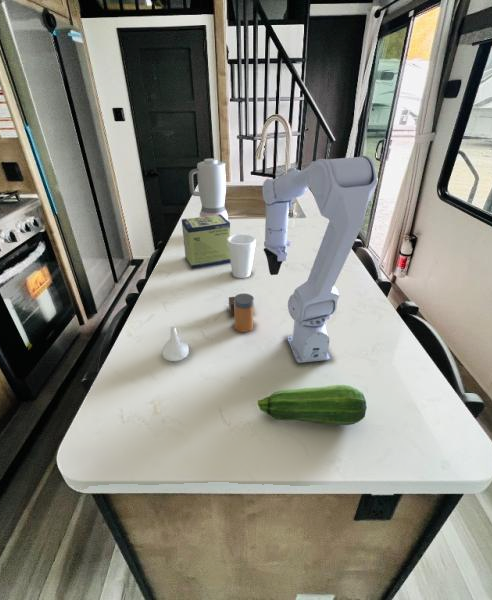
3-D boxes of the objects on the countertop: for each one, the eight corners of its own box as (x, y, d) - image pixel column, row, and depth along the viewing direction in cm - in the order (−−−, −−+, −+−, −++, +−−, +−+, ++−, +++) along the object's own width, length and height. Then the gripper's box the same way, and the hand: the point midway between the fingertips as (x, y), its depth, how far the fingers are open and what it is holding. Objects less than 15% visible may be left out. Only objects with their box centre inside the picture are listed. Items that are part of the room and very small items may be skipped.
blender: (222, 230, 149) (219, 156, 132) (233, 239, 139) (231, 160, 122) (190, 236, 143) (182, 159, 126) (198, 245, 134) (192, 163, 117)
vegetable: (372, 395, 55) (257, 388, 57) (369, 434, 56) (256, 427, 58) (360, 380, 63) (258, 375, 65) (358, 415, 63) (257, 409, 65)
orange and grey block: (226, 307, 89) (233, 290, 80) (243, 303, 91) (251, 287, 82) (236, 337, 86) (244, 324, 77) (253, 333, 88) (263, 319, 79)
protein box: (231, 262, 120) (230, 222, 112) (191, 269, 115) (187, 228, 107) (222, 251, 128) (221, 213, 120) (184, 258, 123) (180, 218, 115)
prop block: (229, 308, 94) (228, 297, 92) (249, 306, 95) (249, 295, 92) (230, 316, 90) (230, 304, 88) (251, 314, 91) (251, 302, 89)
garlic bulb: (163, 366, 74) (158, 339, 69) (162, 349, 79) (157, 323, 75) (191, 361, 75) (187, 334, 71) (187, 344, 80) (184, 318, 76)
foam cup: (223, 276, 111) (221, 241, 104) (235, 265, 118) (235, 232, 111) (247, 282, 107) (248, 246, 100) (259, 271, 114) (260, 236, 107)
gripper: (299, 236, 77) (295, 285, 84) (284, 217, 89) (281, 261, 96) (271, 238, 76) (268, 287, 83) (259, 218, 88) (258, 263, 96)
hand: (273, 273), depth 90 cm, fingers closed
